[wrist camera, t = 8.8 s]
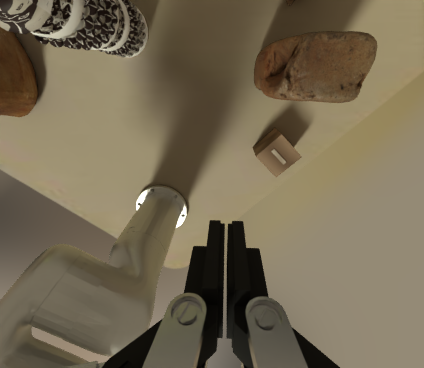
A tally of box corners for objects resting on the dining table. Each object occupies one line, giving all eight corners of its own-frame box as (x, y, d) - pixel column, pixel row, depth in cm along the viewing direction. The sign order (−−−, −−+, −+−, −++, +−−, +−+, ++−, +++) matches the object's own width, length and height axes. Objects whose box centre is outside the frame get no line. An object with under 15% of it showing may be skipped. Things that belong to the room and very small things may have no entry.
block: (316, 51, 39) (395, 27, 21) (306, 97, 42) (365, 110, 24) (255, 47, 39) (279, 20, 21) (249, 93, 42) (265, 103, 24)
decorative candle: (160, 26, 38) (67, -47, 16) (132, 71, 42) (22, 62, 19) (116, -18, 36) (-66, -175, 14) (90, 33, 40) (-91, -27, 17)
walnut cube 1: (271, 166, 48) (276, 178, 43) (252, 147, 47) (256, 156, 41) (294, 147, 46) (303, 157, 41) (275, 126, 45) (282, 133, 39)
